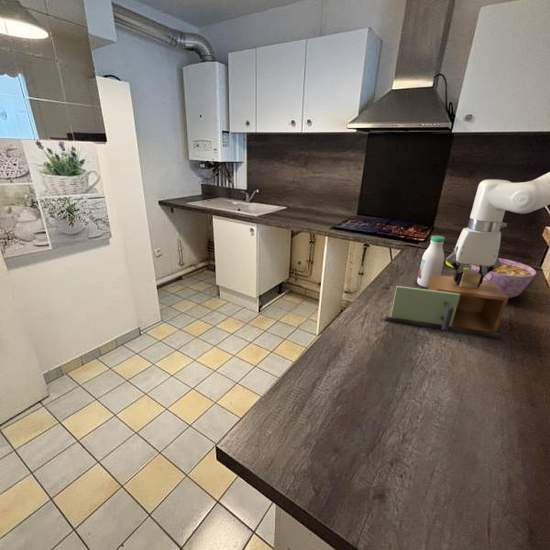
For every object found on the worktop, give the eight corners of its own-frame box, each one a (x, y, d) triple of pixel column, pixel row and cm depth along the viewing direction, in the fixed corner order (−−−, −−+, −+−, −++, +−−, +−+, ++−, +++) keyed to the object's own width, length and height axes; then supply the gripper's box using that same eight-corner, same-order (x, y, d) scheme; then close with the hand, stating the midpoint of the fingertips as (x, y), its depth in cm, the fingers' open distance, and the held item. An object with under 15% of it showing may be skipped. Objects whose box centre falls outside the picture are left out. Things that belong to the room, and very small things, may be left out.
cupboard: (482, 314, 96) (493, 281, 92) (498, 338, 84) (512, 301, 79) (384, 300, 105) (389, 269, 100) (385, 320, 93) (391, 286, 88)
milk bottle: (441, 285, 117) (453, 237, 109) (431, 290, 113) (443, 240, 105) (423, 279, 123) (433, 233, 115) (412, 283, 119) (422, 235, 111)
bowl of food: (466, 301, 105) (475, 271, 100) (457, 280, 122) (464, 254, 118) (534, 311, 98) (547, 280, 94) (514, 288, 115) (524, 260, 111)
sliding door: (450, 326, 89) (459, 293, 85) (455, 338, 83) (465, 304, 79) (390, 317, 94) (396, 285, 89) (391, 328, 88) (398, 295, 83)
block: (472, 283, 90) (476, 269, 89) (477, 288, 86) (481, 275, 85) (456, 281, 92) (459, 267, 90) (459, 286, 88) (463, 273, 86)
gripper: (513, 225, 83) (494, 283, 90) (447, 220, 88) (433, 276, 95) (525, 231, 76) (503, 293, 83) (453, 226, 81) (438, 285, 88)
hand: (466, 283), depth 89 cm, fingers closed on block, 4 cm apart
